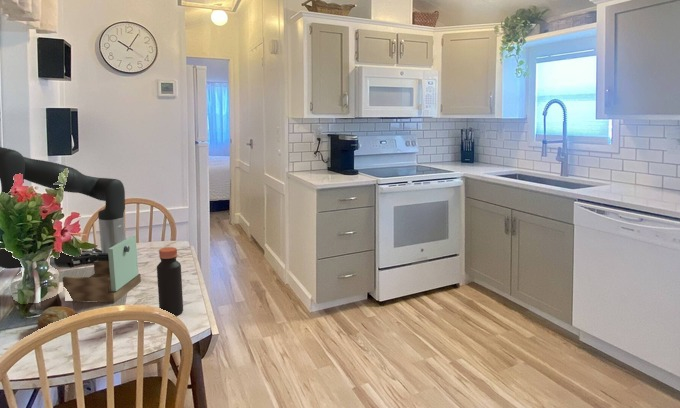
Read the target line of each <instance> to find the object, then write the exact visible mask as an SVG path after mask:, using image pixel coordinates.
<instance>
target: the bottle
mask: <svg viewBox="0 0 680 408" xmlns="http://www.w3.org/2000/svg"><path fill="white" fill-rule="evenodd" d="M177 249H178V248H177V247H172V246H171V247H167V246H166V247H163V248H160V249H158V255H159V257H158V258H159V259H160V262H159V263H158V264H157V266H156V273H157V274H156V277H157V292H158V294H157V295H158V306H159V307H158V308H161V309H163V310H166V311H168V312H170V313H172V314H174V315H177V316H179V315H181V314H182V313H183V311H184V299H183V297H184V296H183V282H182V281H183V280H182V277H183V275H182V266H181V263H180V262H179V261H178V260H177V258H178V250H177Z"/></svg>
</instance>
